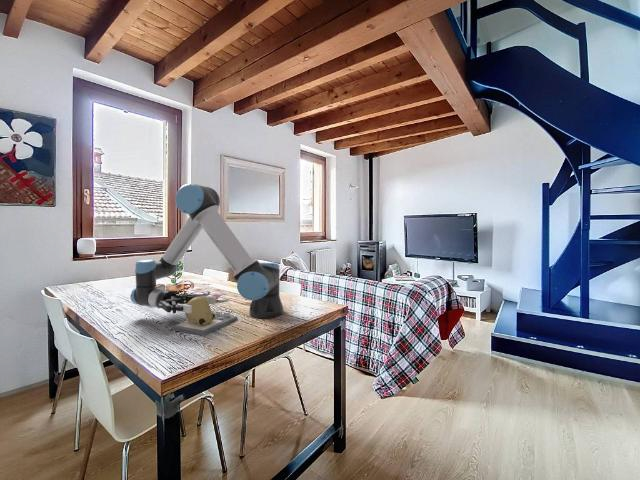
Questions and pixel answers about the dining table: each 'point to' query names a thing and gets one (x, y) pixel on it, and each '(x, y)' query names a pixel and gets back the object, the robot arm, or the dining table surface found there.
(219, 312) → the breaker panel
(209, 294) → the rabbit figure
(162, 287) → the tin
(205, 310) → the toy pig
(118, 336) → the dining table surface
